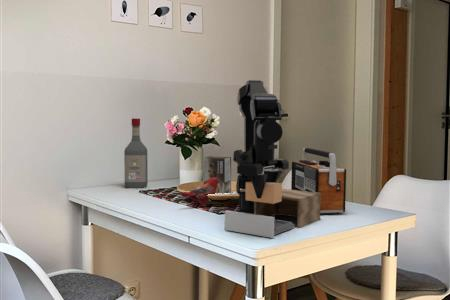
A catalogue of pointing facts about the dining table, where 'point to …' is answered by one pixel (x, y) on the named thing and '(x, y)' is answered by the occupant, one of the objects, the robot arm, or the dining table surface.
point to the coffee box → (218, 172)
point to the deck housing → (293, 206)
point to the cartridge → (265, 193)
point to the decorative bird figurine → (203, 191)
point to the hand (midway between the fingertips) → (263, 197)
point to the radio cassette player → (321, 180)
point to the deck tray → (255, 224)
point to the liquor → (135, 160)
